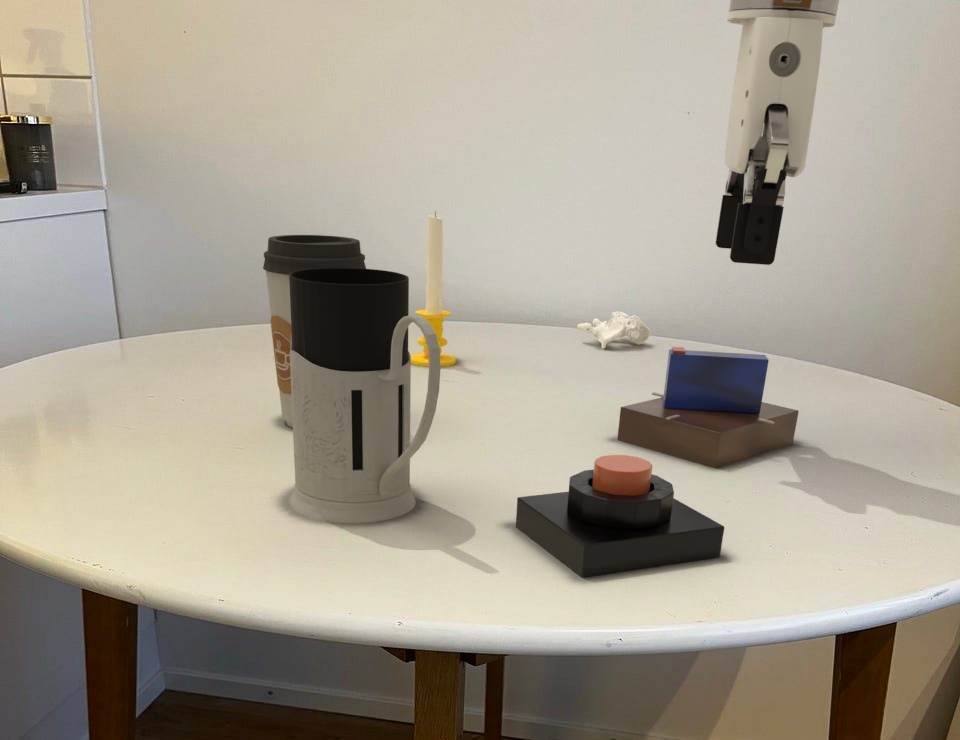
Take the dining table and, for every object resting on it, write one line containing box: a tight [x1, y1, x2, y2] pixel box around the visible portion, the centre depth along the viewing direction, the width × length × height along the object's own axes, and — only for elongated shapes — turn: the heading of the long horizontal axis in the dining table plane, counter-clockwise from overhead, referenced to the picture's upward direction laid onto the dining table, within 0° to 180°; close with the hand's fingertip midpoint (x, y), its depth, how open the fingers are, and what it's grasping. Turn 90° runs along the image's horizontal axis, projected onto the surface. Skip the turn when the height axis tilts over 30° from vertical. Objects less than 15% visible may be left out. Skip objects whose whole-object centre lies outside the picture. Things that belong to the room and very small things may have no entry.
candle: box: [410, 210, 457, 368], centre depth 109 cm, size 5×5×16 cm
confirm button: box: [592, 454, 653, 496], centre depth 64 cm, size 4×4×2 cm
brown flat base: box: [617, 391, 799, 469], centre depth 87 cm, size 12×12×3 cm
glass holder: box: [289, 268, 442, 524], centre depth 65 cm, size 9×14×15 cm, turn 37°
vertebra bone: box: [576, 310, 652, 350], centre depth 125 cm, size 8×4×7 cm
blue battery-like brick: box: [663, 346, 769, 414], centre depth 85 cm, size 8×2×5 cm, turn 84°
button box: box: [515, 469, 725, 579], centre depth 65 cm, size 10×9×4 cm
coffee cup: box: [262, 234, 367, 429], centre depth 85 cm, size 8×8×15 cm
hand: (742, 255), depth 80 cm, fingers open, 9 cm apart
